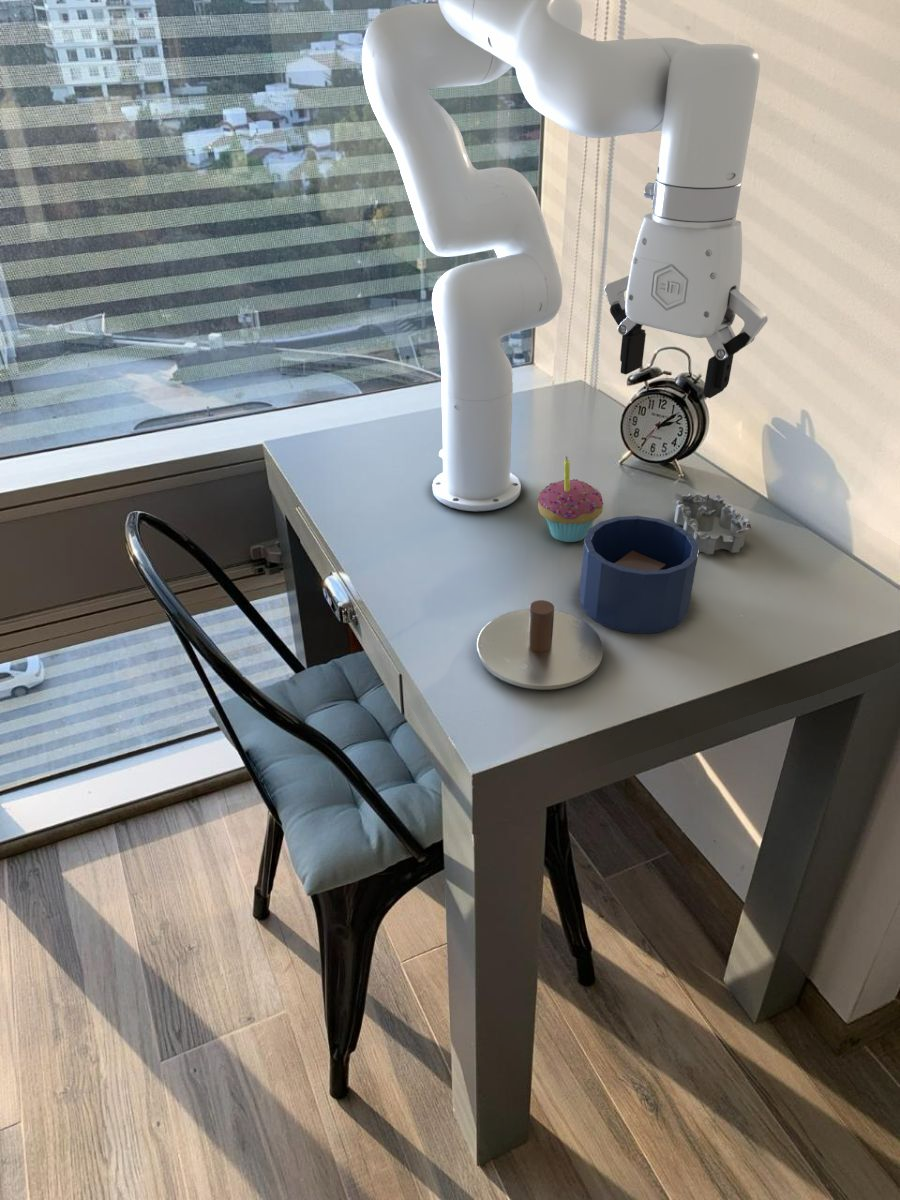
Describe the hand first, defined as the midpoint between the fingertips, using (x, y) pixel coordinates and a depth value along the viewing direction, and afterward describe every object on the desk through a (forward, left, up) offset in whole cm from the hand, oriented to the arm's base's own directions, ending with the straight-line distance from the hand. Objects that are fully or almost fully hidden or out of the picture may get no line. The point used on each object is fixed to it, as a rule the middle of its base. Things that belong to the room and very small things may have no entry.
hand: (671, 381), depth 92 cm
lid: (+4, -17, -26) cm, 31 cm away
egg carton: (-7, +16, -26) cm, 32 cm away
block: (+1, -2, -26) cm, 26 cm away
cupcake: (-16, 0, -26) cm, 31 cm away
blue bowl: (+1, -2, -26) cm, 26 cm away
